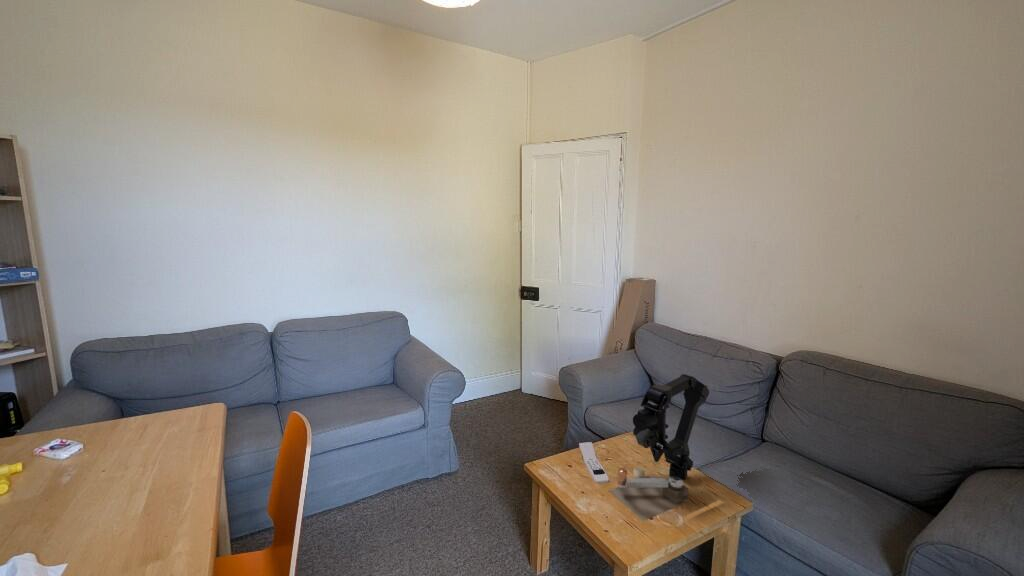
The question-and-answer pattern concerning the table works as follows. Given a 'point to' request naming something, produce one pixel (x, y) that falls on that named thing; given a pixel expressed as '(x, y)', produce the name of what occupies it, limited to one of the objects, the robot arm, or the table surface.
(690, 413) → the robot arm
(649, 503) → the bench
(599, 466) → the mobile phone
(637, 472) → the beige ridged cylinder
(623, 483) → the lever
